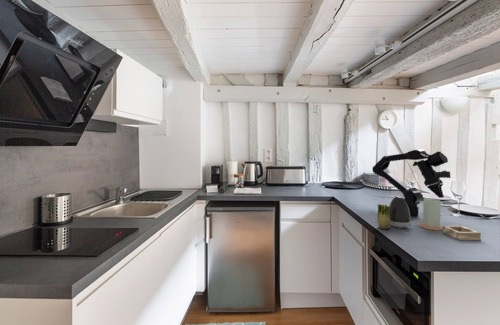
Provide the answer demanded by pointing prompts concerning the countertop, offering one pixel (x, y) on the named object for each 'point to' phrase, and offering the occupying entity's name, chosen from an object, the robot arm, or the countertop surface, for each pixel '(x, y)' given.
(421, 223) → the pad
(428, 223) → the square plug
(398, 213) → the grey smart speaker
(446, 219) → the countertop surface
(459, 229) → the square socket
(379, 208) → the green drip glaze vase
